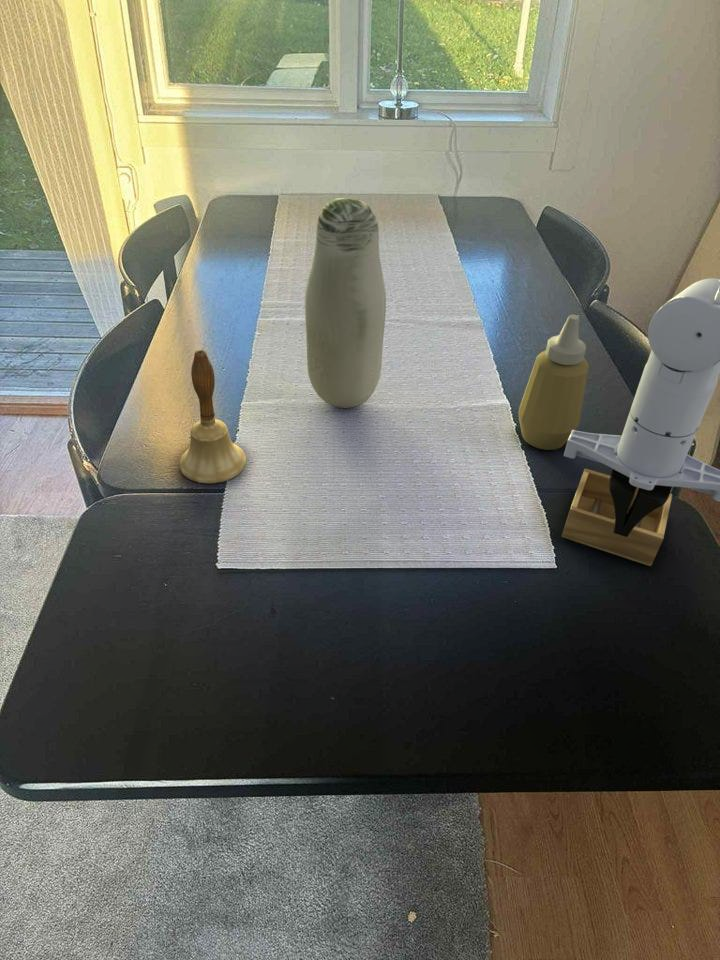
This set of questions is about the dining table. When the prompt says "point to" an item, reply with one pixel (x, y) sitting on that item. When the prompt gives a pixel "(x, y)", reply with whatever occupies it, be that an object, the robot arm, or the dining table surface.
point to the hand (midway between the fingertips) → (622, 528)
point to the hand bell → (209, 434)
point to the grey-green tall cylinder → (345, 304)
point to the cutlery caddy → (612, 522)
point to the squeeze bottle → (555, 390)
